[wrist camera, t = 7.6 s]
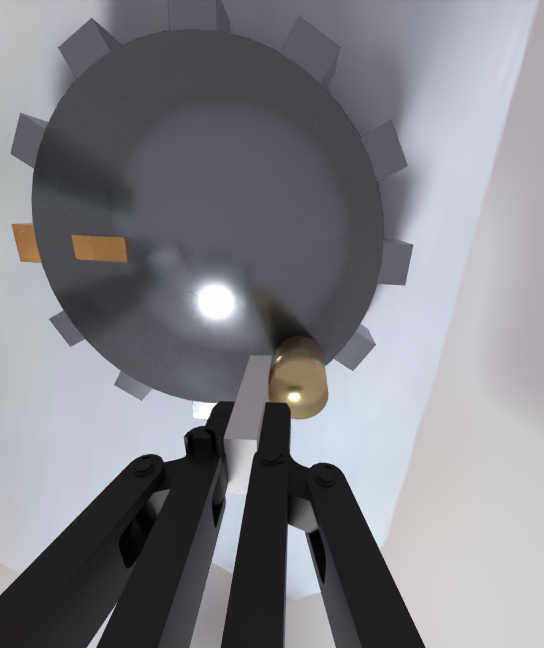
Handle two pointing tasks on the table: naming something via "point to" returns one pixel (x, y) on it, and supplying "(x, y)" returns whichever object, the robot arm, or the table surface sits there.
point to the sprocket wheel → (210, 209)
